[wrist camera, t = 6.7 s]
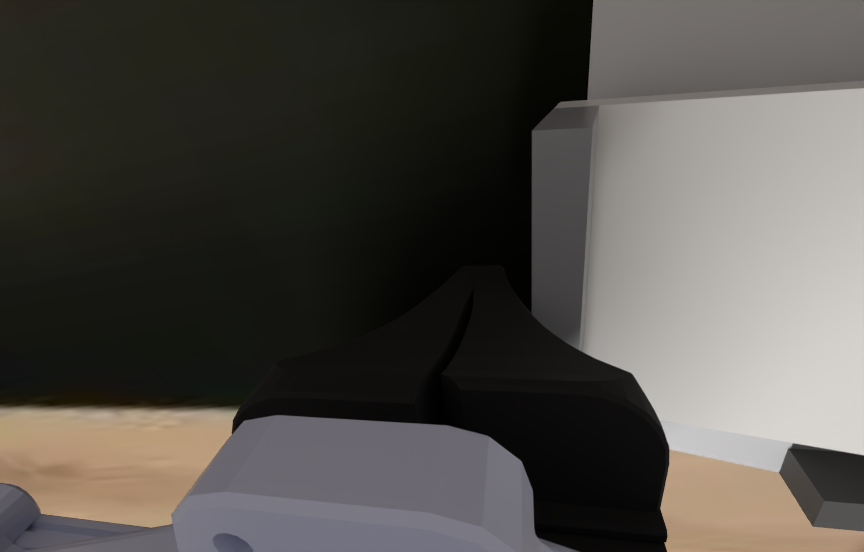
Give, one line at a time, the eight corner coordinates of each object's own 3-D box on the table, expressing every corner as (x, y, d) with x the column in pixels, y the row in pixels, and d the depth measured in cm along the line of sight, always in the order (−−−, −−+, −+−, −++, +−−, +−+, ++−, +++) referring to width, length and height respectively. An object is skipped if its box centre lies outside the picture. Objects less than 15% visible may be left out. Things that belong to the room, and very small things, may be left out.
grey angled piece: (903, 393, 13) (1085, 616, 8) (557, 349, 17) (531, 482, 12) (1065, 59, 9) (1631, 77, 4) (565, 96, 13) (531, 130, 8)
